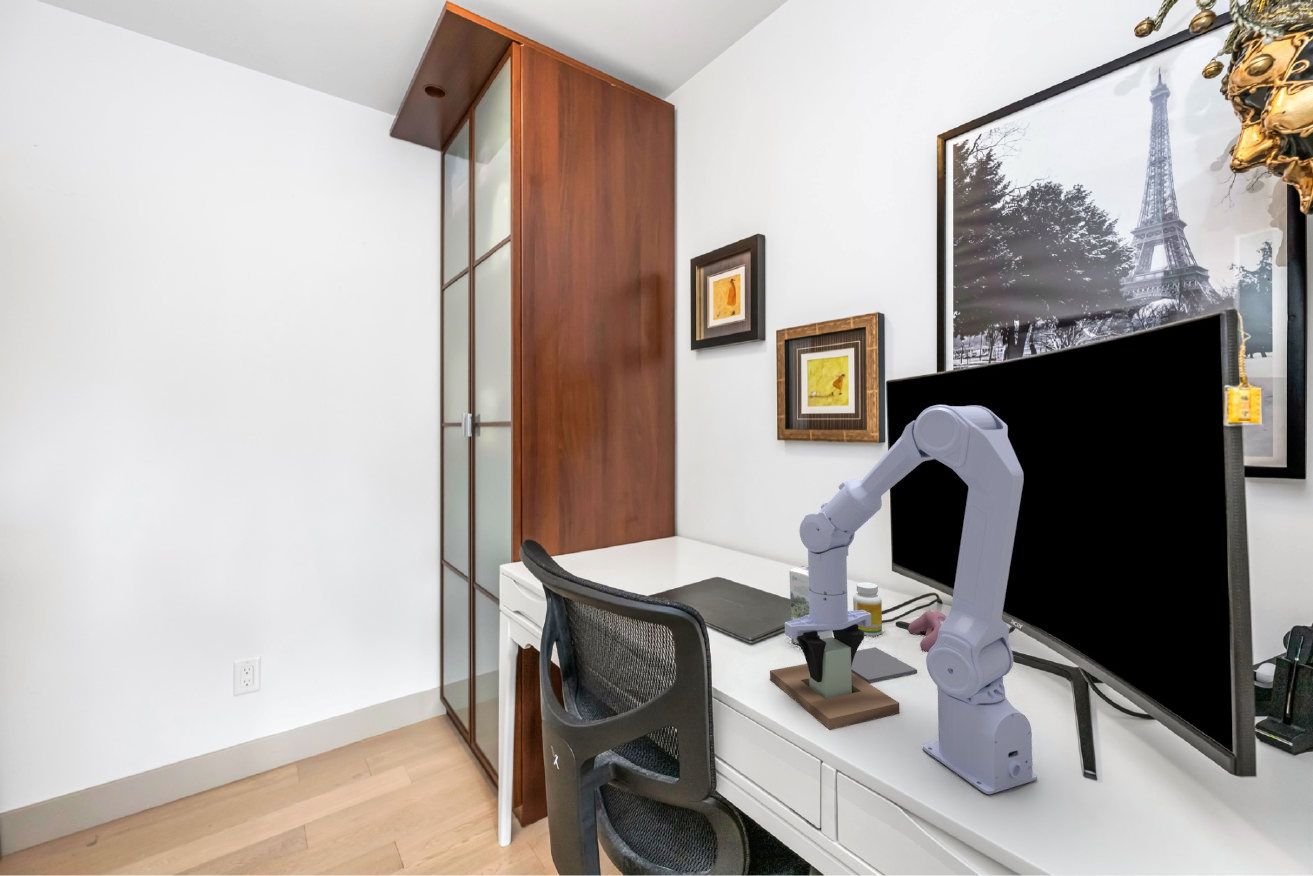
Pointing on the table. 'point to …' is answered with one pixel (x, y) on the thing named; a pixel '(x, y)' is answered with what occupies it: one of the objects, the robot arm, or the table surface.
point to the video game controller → (927, 627)
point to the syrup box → (801, 596)
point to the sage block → (834, 670)
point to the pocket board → (835, 698)
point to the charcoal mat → (878, 666)
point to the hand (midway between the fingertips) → (829, 676)
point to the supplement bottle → (869, 607)
